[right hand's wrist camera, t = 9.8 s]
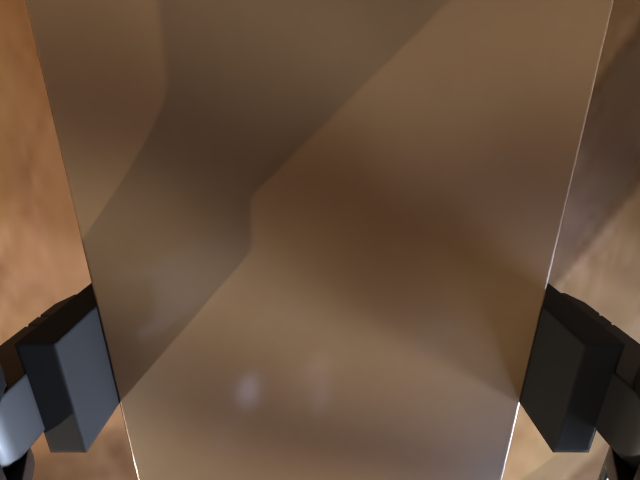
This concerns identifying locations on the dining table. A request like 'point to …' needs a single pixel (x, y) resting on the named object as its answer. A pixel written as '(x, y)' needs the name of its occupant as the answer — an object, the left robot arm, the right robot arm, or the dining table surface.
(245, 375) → the cabinet
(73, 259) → the dining table surface
